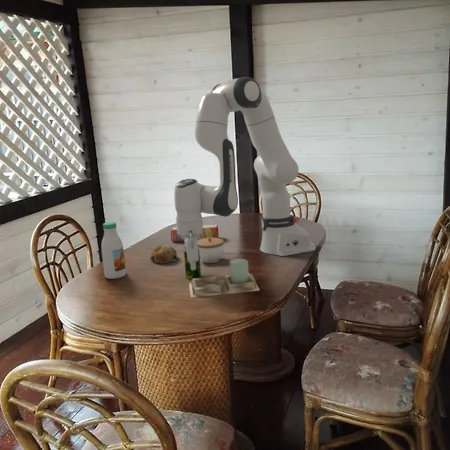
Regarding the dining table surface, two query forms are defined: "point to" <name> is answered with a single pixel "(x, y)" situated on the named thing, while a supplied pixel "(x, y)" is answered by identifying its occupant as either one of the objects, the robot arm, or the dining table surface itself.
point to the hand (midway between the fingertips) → (192, 265)
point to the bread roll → (163, 254)
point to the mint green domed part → (239, 271)
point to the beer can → (190, 273)
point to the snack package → (207, 232)
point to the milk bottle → (112, 252)
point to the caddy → (220, 286)
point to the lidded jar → (210, 249)
